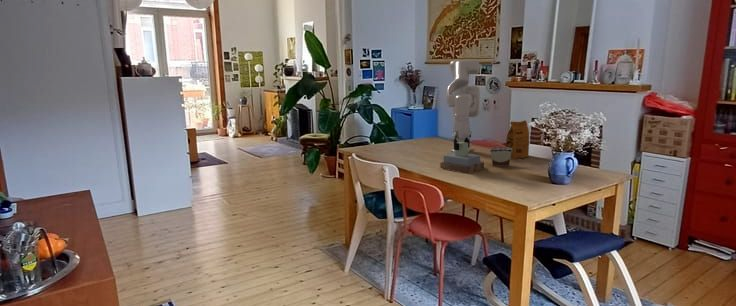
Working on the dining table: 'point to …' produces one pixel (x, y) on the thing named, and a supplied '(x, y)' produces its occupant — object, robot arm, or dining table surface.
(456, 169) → the base block
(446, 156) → the top block
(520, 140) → the coffee package
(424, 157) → the dining table surface
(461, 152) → the sage block
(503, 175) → the dining table surface
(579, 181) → the dining table surface
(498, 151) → the food container
